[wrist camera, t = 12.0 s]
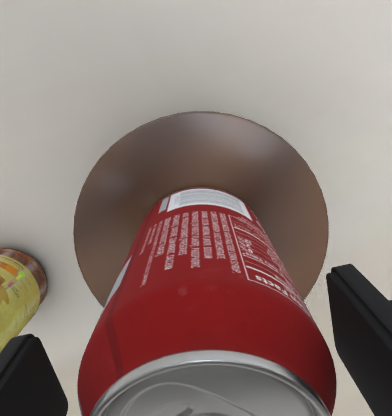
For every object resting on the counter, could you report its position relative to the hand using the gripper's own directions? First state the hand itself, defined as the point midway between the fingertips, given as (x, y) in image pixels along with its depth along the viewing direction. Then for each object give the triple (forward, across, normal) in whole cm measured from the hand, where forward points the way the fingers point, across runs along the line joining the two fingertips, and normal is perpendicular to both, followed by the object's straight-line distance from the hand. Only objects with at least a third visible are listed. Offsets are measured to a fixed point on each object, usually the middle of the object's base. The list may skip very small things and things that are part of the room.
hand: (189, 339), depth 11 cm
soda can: (+8, -1, 0) cm, 8 cm away
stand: (+16, -1, +1) cm, 16 cm away
